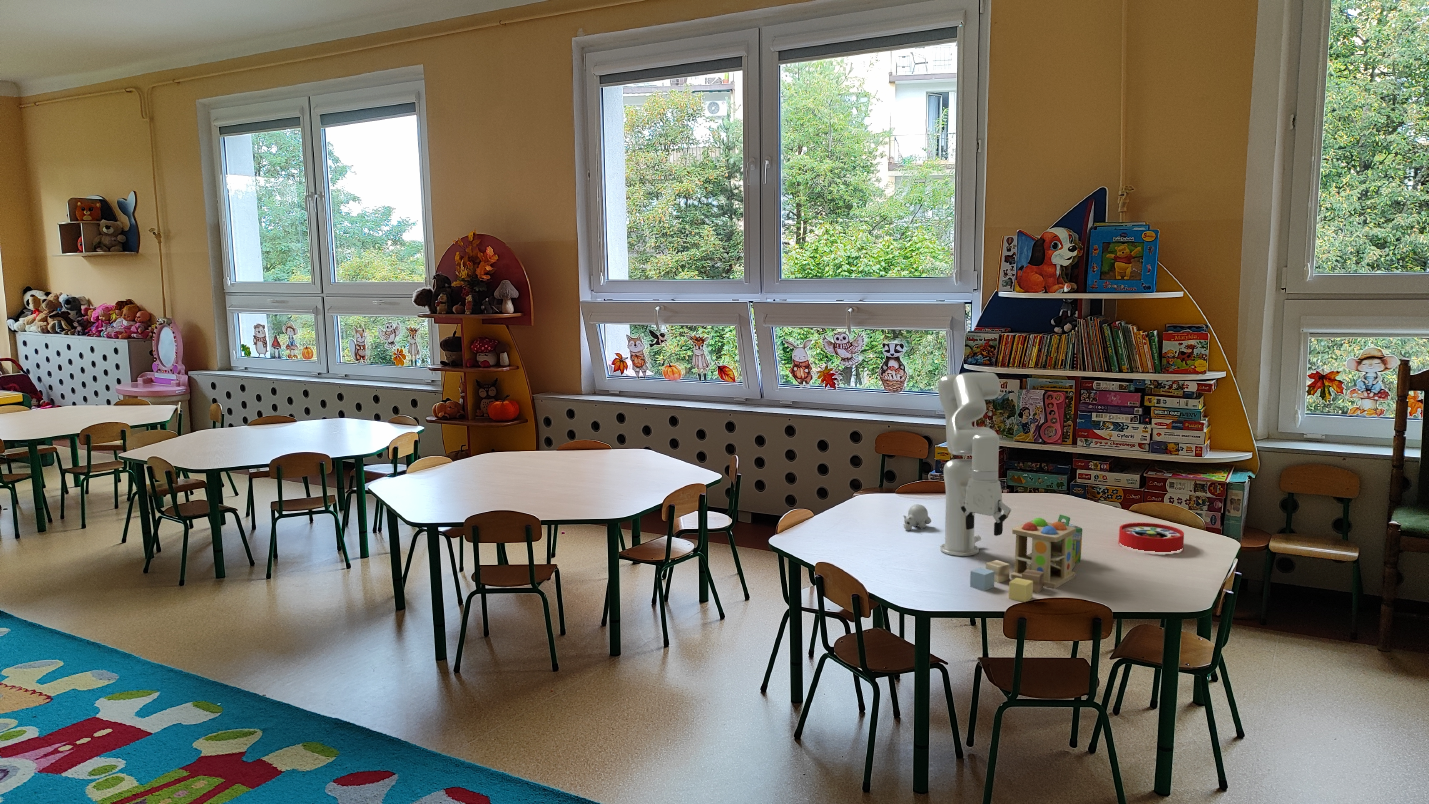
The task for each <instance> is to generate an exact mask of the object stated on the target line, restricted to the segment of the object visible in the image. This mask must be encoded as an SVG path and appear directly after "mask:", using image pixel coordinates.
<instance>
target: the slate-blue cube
mask: <svg viewBox="0 0 1429 804" xmlns="http://www.w3.org/2000/svg"><path fill="white" fill-rule="evenodd" d="M994 574H995V571H992V570H988V569H986V568H984V567H977V568H975V569H973V570H970V576H969V579H970V580H969V581H970V582H969V583H970V584H969V587H970V588H974V589H977V590H980V591H983V592H985V591H988V590H991V589H993V588H995V582H994Z"/></svg>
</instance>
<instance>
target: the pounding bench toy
mask: <svg viewBox="0 0 1429 804" xmlns="http://www.w3.org/2000/svg"><path fill="white" fill-rule="evenodd" d="M1062 522H1063V521H1061V522H1058V521H1054V522H1049V521H1048V522H1047V521H1046V520H1045V519H1044V518H1042V517H1037V518H1034V519H1033V520H1029V521H1028V522H1025V523H1023V524H1020V525H1018V526H1015V527H1013V528H1012V531H1011V533H1012V535H1015V550H1014V551H1015V555H1014V572H1012V573H1011V574H1010V578H1011V579H1012V580H1013V579H1015V578H1020V579H1022V573H1023V572H1024V571H1026V570H1027V569H1029V570H1035V571H1041V572H1044V587H1046V588H1050V589H1057V588H1058V587H1060V586H1063V585H1064V584H1065V583H1067V582H1069V581H1071V580H1073V579H1074V578H1076V572H1074V571H1073V569H1074V568H1075V566H1076V563H1075V562H1074V559H1073V558H1072V548H1073V534H1074V533H1076V528H1075V527H1070V526H1065V524H1064V523H1062ZM1028 538H1030V539H1031V552H1030V553H1028V552H1027V551H1028ZM1055 554H1057V555H1055ZM1054 562H1055V563H1054ZM1028 563H1029V564H1028Z"/></svg>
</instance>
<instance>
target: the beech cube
mask: <svg viewBox="0 0 1429 804" xmlns="http://www.w3.org/2000/svg"><path fill="white" fill-rule="evenodd" d="M1010 566H1011V564H1010V563H1007V562H1003V561H1001V560H997V559H996V560H993V561H988V562H985V569H988V570H992V571H995V574H994V583H997V584H998V583H1002V582H1006V581H1010V577H1011V574H1010V571H1011V570H1010Z"/></svg>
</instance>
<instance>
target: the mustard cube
mask: <svg viewBox="0 0 1429 804" xmlns="http://www.w3.org/2000/svg"><path fill="white" fill-rule="evenodd" d="M1008 585H1009V586H1008V599H1009V600H1012V601H1013V600H1015V601H1019V602H1024V603H1026V602H1025V601H1027V602H1028V601H1029V600H1031V599H1032V598H1033V595H1034V594H1033V593H1034V592H1033V581H1030V580H1025V579H1020V578H1015V579H1012V580H1009V582H1008Z"/></svg>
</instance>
